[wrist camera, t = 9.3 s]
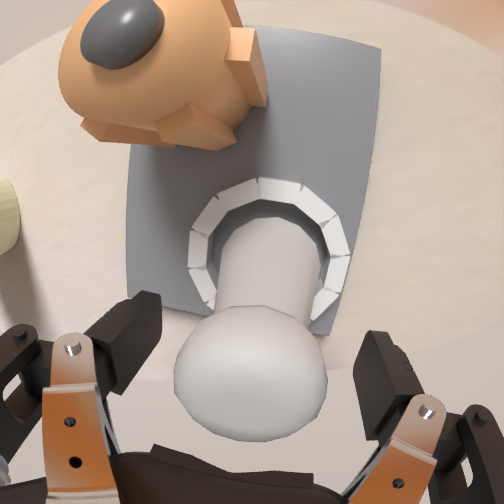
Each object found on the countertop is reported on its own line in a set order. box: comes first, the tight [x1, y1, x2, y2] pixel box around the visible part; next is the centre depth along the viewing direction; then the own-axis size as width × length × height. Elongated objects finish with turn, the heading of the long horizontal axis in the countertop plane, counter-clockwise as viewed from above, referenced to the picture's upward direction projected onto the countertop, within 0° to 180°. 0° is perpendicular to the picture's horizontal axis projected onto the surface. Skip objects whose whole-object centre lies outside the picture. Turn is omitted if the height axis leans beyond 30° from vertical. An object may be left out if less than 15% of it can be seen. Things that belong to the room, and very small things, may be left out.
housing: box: [58, 0, 381, 336], centre depth 13 cm, size 16×21×13 cm
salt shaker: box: [174, 217, 328, 442], centre depth 12 cm, size 6×6×13 cm
